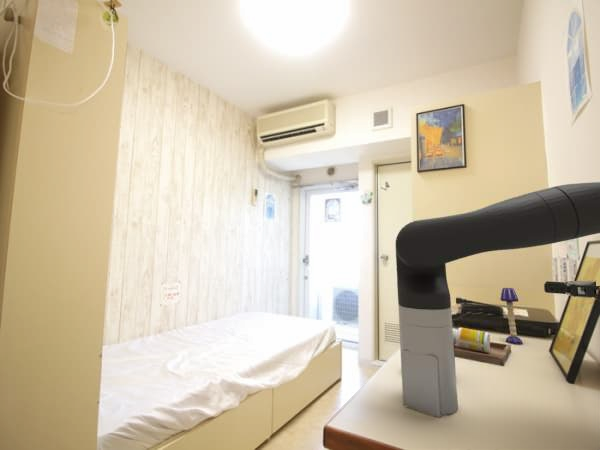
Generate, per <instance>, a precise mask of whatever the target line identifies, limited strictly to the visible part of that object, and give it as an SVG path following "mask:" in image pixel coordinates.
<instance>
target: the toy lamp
mask: <svg viewBox="0 0 600 450" xmlns="http://www.w3.org/2000/svg"><path fill="white" fill-rule="evenodd" d="M500 301H501V302H506V303H505V304H506V310H507V313H506V314H507V320H508V325H509V331H510V332H509V335H510V336H507V337H506V339H505V342H506V344H507V343H508V344H510V345H522V344H523V343H524V342H523V341H522V339H521V338H520V337H519V336H518V334H517V327H516V322H515V320H516V318H515V312H514V310H515V309H514V307H513V306H514V302H519V297H518V296H517V293H516V291H515V288H513V287H503V288H502V289H501V294H500Z"/></svg>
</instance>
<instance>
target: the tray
mask: <svg viewBox="0 0 600 450" xmlns="http://www.w3.org/2000/svg"><path fill="white" fill-rule="evenodd" d="M454 351H455V358H461V359H465V360H470V361H476V362H482V363H487V364H492V365H497V366H502V367H503V366H505V364H506V362H507V360H508V358H509V356H510V354H511V353H512V347H511V344H509V343H508V344H507V343H501V342H493V341H490V349H489V352H488V353H485V352H480V351H476V350H472V349H467V348H463V347H460V346H458V344H457V343H454Z"/></svg>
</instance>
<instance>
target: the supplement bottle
mask: <svg viewBox="0 0 600 450" xmlns="http://www.w3.org/2000/svg"><path fill="white" fill-rule="evenodd" d="M452 329H453V343H457V344H458V346H460V347H463V348H467V349H472V350H476V351H480V352H485V353H488V352H489V349H490V342H491V337H490V335H491V334H490V333H489V332H487V331H480V330H475V329H470V328H465V327H458V329H456V328H453V327H452Z"/></svg>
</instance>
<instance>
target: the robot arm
mask: <svg viewBox="0 0 600 450" xmlns="http://www.w3.org/2000/svg"><path fill="white" fill-rule="evenodd" d="M597 234H600V181H595V182H592V181H591V182H581V183H580V182H578V183H569V184H568V183H567V184H561V185H556V186H551V187H549V188H544V189H540V190H536V191H533V192H532V191H531V192H528V193H525V194H522V195H518V196H514V197H510V198H508V199H505V200H501V201H499V202H496V203H494V204H490V205H488V206H485V207H482V208H478V209H475V210H471V211H468V212H465V213H458V214H454V215H447V216H440V217H432V218H425V219H419V220H414V221H410V222H409V223H407V224H405V225H404V226H403V227H401V229H399V232H398V234H397V236H396V237H395V261H396V262H395V264H396V280H397V281H396V286H397V287H396V288H397V289H396V290H397V304H398V326H399V330H398V331H399V347H400V366H401V367H400V369H401V370H400V371H401V388H402V389H401V390H402V406H404V407H406V408H410V409H413V410H415V411H419V412H422V413H425V414H428V415H430V416H431V415H432V416H434V417H438V418H440V417H442V416H444V415H449V414H453V413H455V412H457V410H458V408H459V405H458V404H459V403H458V388H457V377H456V375H457V374H456V373H457V372H456V357H455V358H454V343H453V329H452V328H453V316H452V315H453V314H452V302H451V300H452V299H451V292H450V289H449V284H448V279H447V267H446V265H447V264H448V263H451V262H454V261H458V260H460V259H464V258H467V257H470V256H474V255H479V254H482V253H488V252H496V251H507V250H519V249H526V248H528V249H529V248H534V247H540V246H547V245H551V244H557V243H562V242H566V241H571V240H576V239H579V238H584V237H588V236H592V235H597ZM596 281H597V280H588V281H587V280H574V281H572V280H571V281H545V282H544V284H543V287H544V288H543V289H544V292H545V293H547V294H559V295H566V296H569V297H570V296H572V297H577V298H581V299H591V298H592V297H594V298H596V296H597V293H598V290H599V287H600V286H596Z"/></svg>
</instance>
